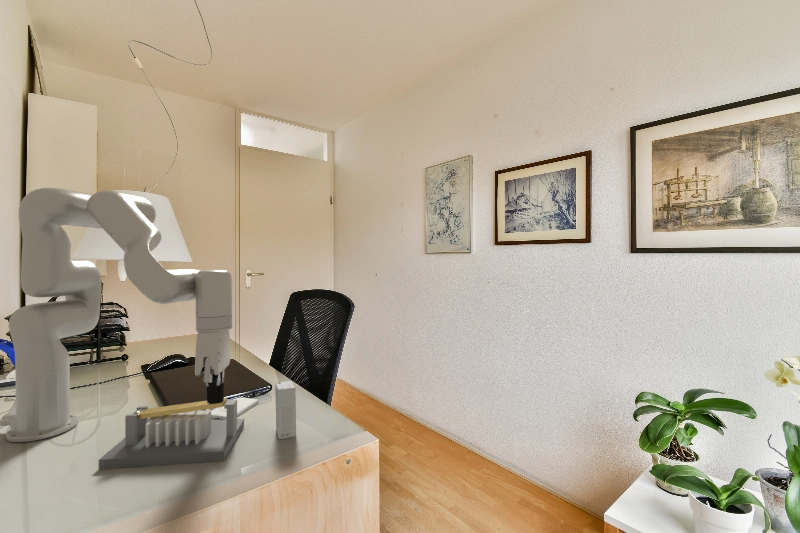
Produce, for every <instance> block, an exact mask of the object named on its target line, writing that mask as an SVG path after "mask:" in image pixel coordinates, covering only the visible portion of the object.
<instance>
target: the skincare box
mask: <svg viewBox="0 0 800 533" xmlns="http://www.w3.org/2000/svg"><path fill="white" fill-rule="evenodd" d="M274 386H275V389H274V390H275V393H274V395H275V426H276V428H275V429H276V434H277V437H278V439H279V440H285V439H291V438H295V437H297V407H296V406H297V405H296V404H297V401H296V400H297V398H296V396H297V395H296V386H295V385H294V383H293V381H292V380H286V381H278V382H276V383H275V385H274Z"/></svg>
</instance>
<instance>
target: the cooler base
mask: <svg viewBox="0 0 800 533" xmlns="http://www.w3.org/2000/svg"><path fill="white" fill-rule="evenodd" d="M138 409H149V406H148V405H140V406H137V407H136V411H137V410H138ZM224 409H227V420H222V419H212V418H211V411H212V409H205V410H198V411H192V412H185V413H178V414H171V415H164V416H157V417H150V418H143V419H137V414H133V413H132V414H131V413H129V414H126V415H125V418H124V419H125V420H124V422H125V425H124V427H125V429H124V432H125V434H124V435H125V436H124V438H123V439H122V440H120V441H119V442H118V443H117V444H115V446H113V447H112V448H111V449H110V450H108V451H107V452H106V453H105V454H104V455H102V456H101V457H100V458H99V459H98V470H107V469H108V470H109V469H123V468H137V467H140V468H141V467H149V466H151V467H152V466H167V465H168V466H169V465H181V464H194V463H195V464H196V463H206V462H207V463H208V462H223V461H226V458H227V457H228V455H229V453H230V451H231V450H232V448H233V446H234V445H235V443H236V441H237V439H238V438H239V436H240V434H241V432H242V431H243V429H244V427H245V418H238V417H237V400H231V399H227V402H226V403H225V405H224Z"/></svg>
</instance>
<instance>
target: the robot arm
mask: <svg viewBox="0 0 800 533" xmlns="http://www.w3.org/2000/svg"><path fill="white" fill-rule="evenodd" d="M156 216H157V213H156V209H155V208H154V206H153V204H152V203H151V202H150V201H149V200H147V199H146V198H144V197H142V196H140V195H139V196H138V195H135V194H130V193H126V192H121V191H116V190H101V191H98V192H95V193H93V194H90V193H85V192H80V191H76V190H71V189H65V188H57V187H40V188H36V189H33V190H31V191H30V192H28V193H27V194H26V195H25V196H23V198H22V200H21V202H20V204H19V206H18V221H19V226H20V230H21V237H22V246H21V247H22V248H21V263H20V264H21V265H20V287H21V290H22V292H23V293H24V294H26V295H27V296H29V297H32V298H56V297H65V298H64V299H65V300H59V301H57V300H56V301H47V302H37V303H32V304H31V303H30V304H29V305H25V306H22V307H20V308H18V309H16V310H15V311H14V312H13V313H12V314H11V316H10V318H9V320H8V331H9V334H10V338H11V341H12V345H13V350H14V364H15V365H14V366H15V371H14V372H15V413H10V414H4V415H3V416H2V417H1V420H0V427H5V426H6V427H7V426H9V427H10V428H9V430H8V431H7V432H6V434H5V438H6V440H7V441H8V442H11V443H28V442H35V441H39V440H44V439H47V438H53V437H55V436H57V435H61V434H64V433H65V432H68V431H70V430H71V429H73V428H74V427H75V426H77V425H78V423H79V417H77V416H76V415H72V414H70V413H71V411H70V410H71V404H70V403H71V402H70V401H71V397H70V396H71V394H70V393H71V392H70V389H71V385H70V384H71V380H70V379H71V377H70V376H71V375H70V372H71V371H70V367H71V366H70V363H71V362H70V361H71V359H70V355H69V351H68V350H67V348H66V347H65V346H64V345H63V344H62V342H61V339H64V338H68V337H69V338H70V337H74V336H79V335H82V334H86V333H89V332H90V331H92V330H93V329H94V328H95V327H96V326H97V325H98V322H99V319H100V313H101V298H102V297H101V296H102V276H101V272H100V270H99V268H98V266H96V264H95V263H93V262H92V261H90V260H86V259H81V258H71V250H72V243H71V240H70V237H69V236H68V233H67V232H66V231H65V229H64V228H63V227H62V226H64V225H65V226H74V227H82V228H93V229H94V228H95V229H102V230H104V232H105V233H106V234H107V235H108V236H109V237H110V238H111V240H113V241H114V242H115V243H116V244H117V245H118V247H119V248H120V249H121V250H122V251H123V252H124V254H123V265H124V270H125V274H126V276H127V277H128V280H129V281H130V282H131V283H132V284H133V285H134V286H135V288H137V290H138V291H140V293H142V295H143V296H145V297H146V298H147V299H148V300H150V301H151V302H153V303H156V304H160V305H168V304H175V303H181V302H189V301H195V332H197V335H196V340H195V341H196V343H195V354H194V356H195V357H194V359H195V360H194V375H195V376H196V377H200V376H201V375H203V383H204V384H205V385H206V401H207V402H208V403H217V402H221V401H222V400H223V399H224V398H225V382H224V381H225V370H226V368H228V366H230V364H231V338H230V330H231V329H232V328H233V298H232V297H233V296H232V295H233V294H232V291H233V290H232V289H233V287H232V286H233V282H232V280H233V279H232V274H231V272H230V271H228V270H224V269H208V270H207V269H204V270H202V269H194V268H187V269H186V268H184V269H183V268H180V269H177V268H176V269H174V268H173V269H166V268H165V267H164V266H163V264H162V263H160V262H159V261H158V260H157V258H155V256H154V255H153V253H152V251H154V250H155V249H156V248H157V247H158V246H159V244H161V241H162V233H161V232H160V230H159V229H158V228H157V227H156V226H155V225H154V222H155V221H156Z"/></svg>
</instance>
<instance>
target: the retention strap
mask: <svg viewBox="0 0 800 533" xmlns="http://www.w3.org/2000/svg"><path fill="white" fill-rule="evenodd" d="M227 401H228V399H227V397H224V399H223V400H222V401H221V402H217V403H208V402H207V400H201V401H194V402H188V403H187V402H186V403H180V404H172V405H166V406H159V407H158V406H157V407H151V408H148V409H138V410H137V409H136V411H134V412H133V413H132V414H137V419H143V418H148V419H149V418H151V417H157V416H164V415H171V414H178V413H185V412H192V411H198V410H202V411H205V410H206V409H211V410H213V409H216V408H219V407H223V406H224V405H225V403H226V402H227Z"/></svg>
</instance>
